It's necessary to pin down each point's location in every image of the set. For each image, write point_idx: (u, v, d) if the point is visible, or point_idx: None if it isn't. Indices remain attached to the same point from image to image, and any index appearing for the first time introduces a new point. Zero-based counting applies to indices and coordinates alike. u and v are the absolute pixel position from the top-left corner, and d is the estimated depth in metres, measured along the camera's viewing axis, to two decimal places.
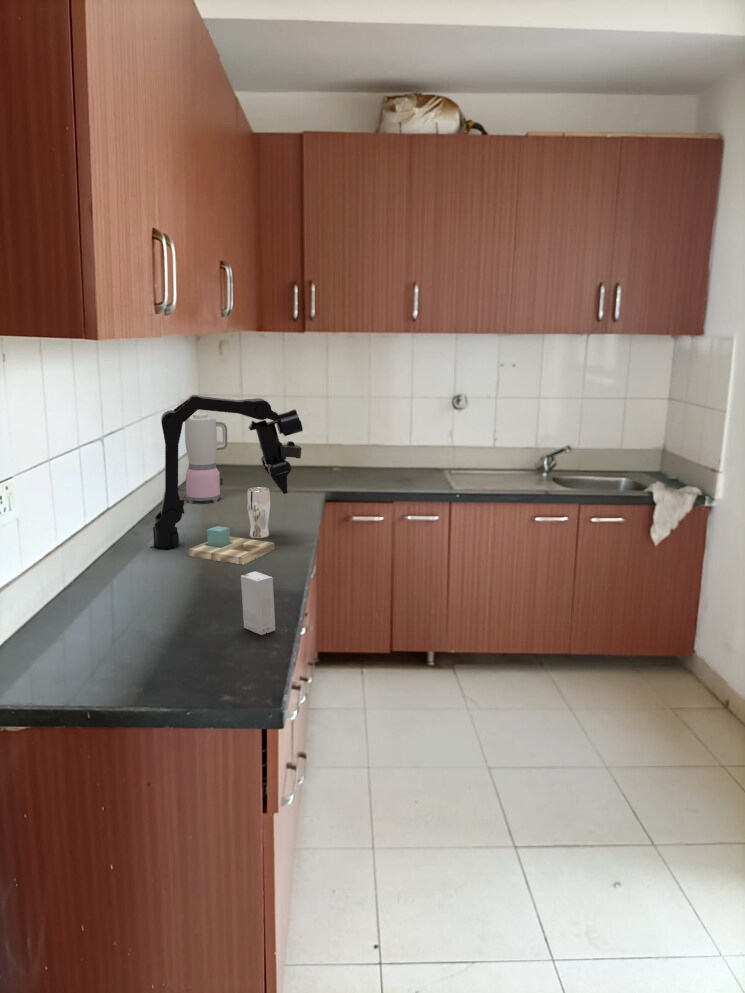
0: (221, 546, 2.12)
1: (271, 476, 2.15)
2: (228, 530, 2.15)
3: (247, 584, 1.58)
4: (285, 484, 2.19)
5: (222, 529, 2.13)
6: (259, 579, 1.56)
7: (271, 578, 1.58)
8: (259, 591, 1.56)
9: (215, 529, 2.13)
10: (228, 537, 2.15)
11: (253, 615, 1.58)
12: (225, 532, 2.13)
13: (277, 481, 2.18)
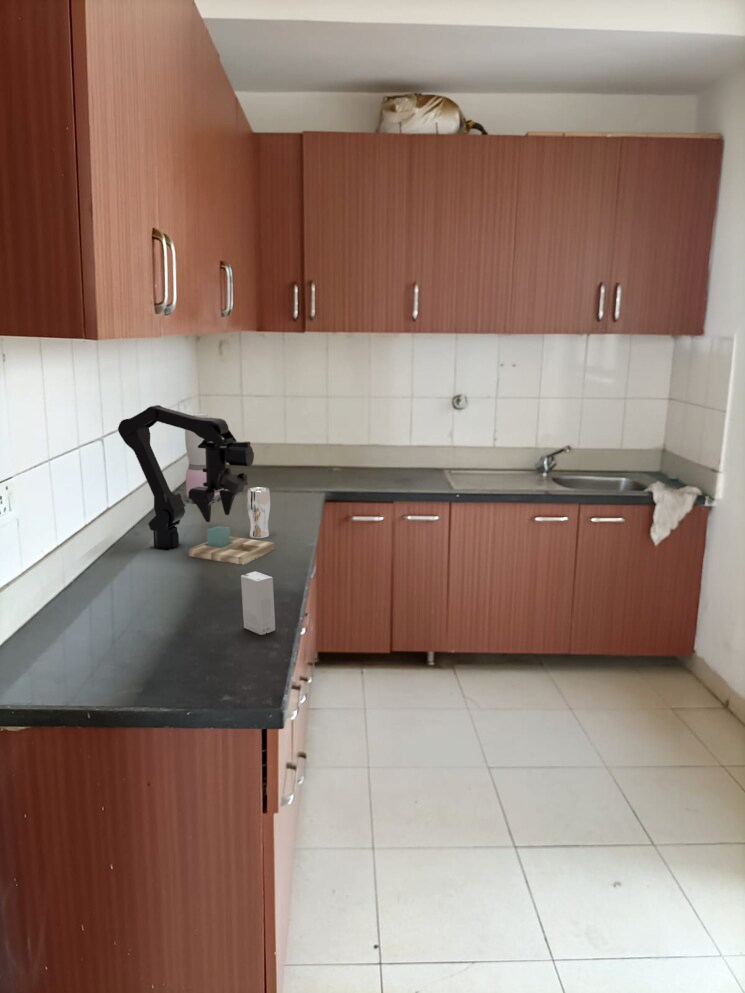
0: (221, 546, 2.12)
1: None
2: (228, 530, 2.15)
3: (247, 584, 1.58)
4: (207, 513, 2.07)
5: (222, 529, 2.13)
6: (259, 579, 1.56)
7: (271, 578, 1.58)
8: (259, 591, 1.56)
9: (215, 529, 2.13)
10: (228, 537, 2.15)
11: (253, 615, 1.58)
12: (225, 532, 2.13)
13: (199, 506, 2.07)
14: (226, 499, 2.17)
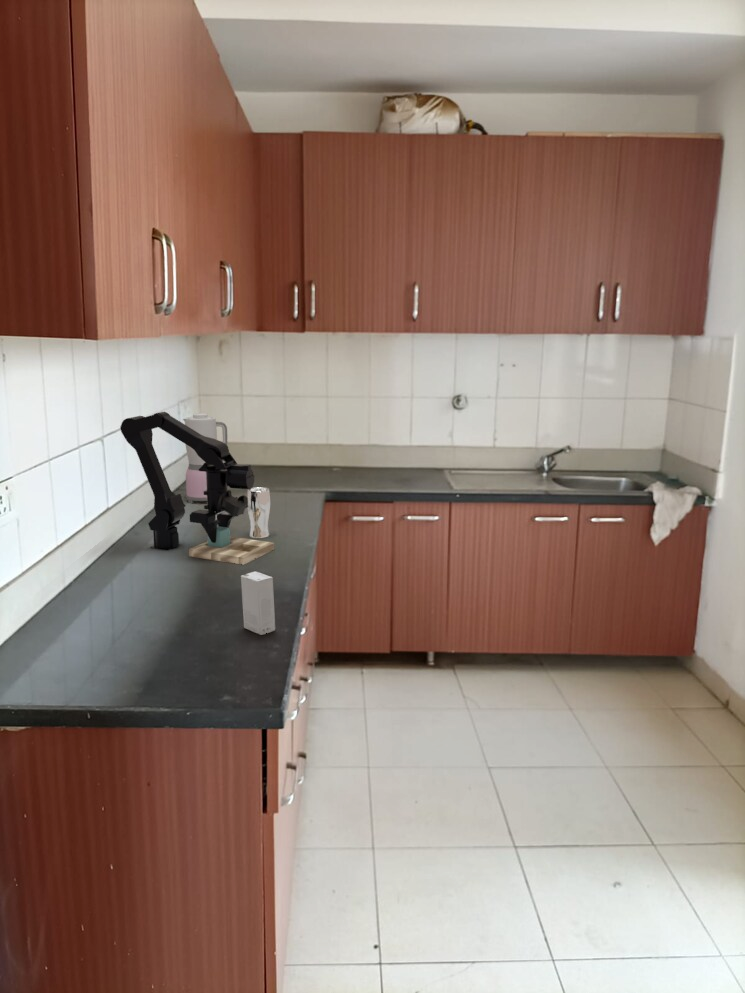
0: (221, 546, 2.12)
1: None
2: (228, 530, 2.15)
3: (247, 584, 1.58)
4: (212, 533, 2.11)
5: (222, 529, 2.13)
6: (259, 579, 1.56)
7: (271, 578, 1.58)
8: (259, 591, 1.56)
9: None
10: (228, 537, 2.15)
11: (253, 615, 1.58)
12: (225, 532, 2.13)
13: (205, 527, 2.11)
14: (223, 523, 2.16)
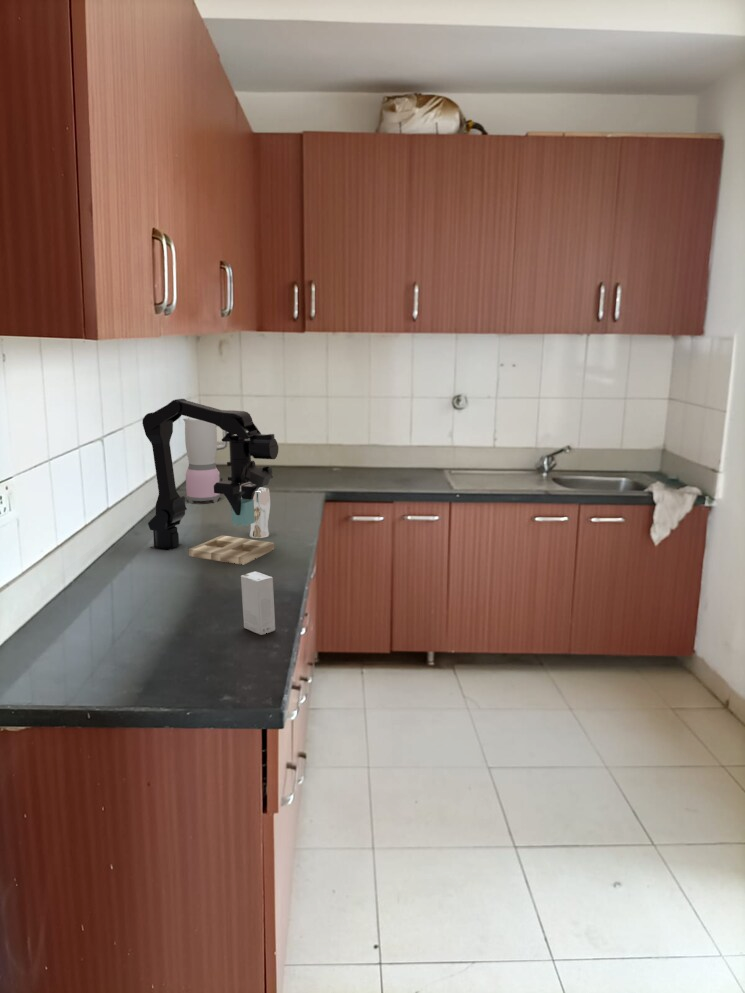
0: (246, 518, 2.07)
1: None
2: (252, 502, 2.09)
3: (247, 584, 1.58)
4: (237, 505, 2.05)
5: (246, 501, 2.08)
6: (259, 579, 1.56)
7: (271, 578, 1.58)
8: (259, 591, 1.56)
9: None
10: (252, 509, 2.10)
11: (253, 615, 1.58)
12: (250, 504, 2.08)
13: (229, 499, 2.05)
14: (246, 495, 2.11)
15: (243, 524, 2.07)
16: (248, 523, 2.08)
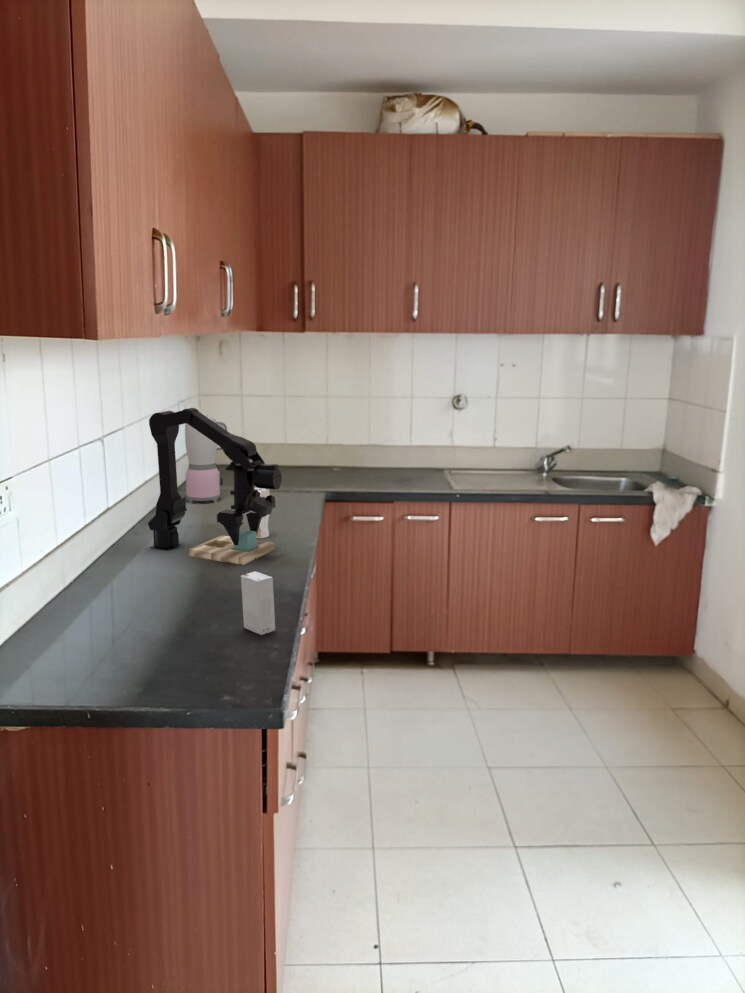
0: (248, 550, 2.09)
1: None
2: (255, 534, 2.11)
3: (247, 584, 1.58)
4: (235, 536, 2.05)
5: (249, 533, 2.10)
6: (259, 579, 1.56)
7: (271, 578, 1.58)
8: (259, 591, 1.56)
9: (242, 533, 2.09)
10: (255, 541, 2.11)
11: (253, 615, 1.58)
12: (252, 535, 2.10)
13: (228, 529, 2.05)
14: (253, 521, 2.14)
15: None
16: None
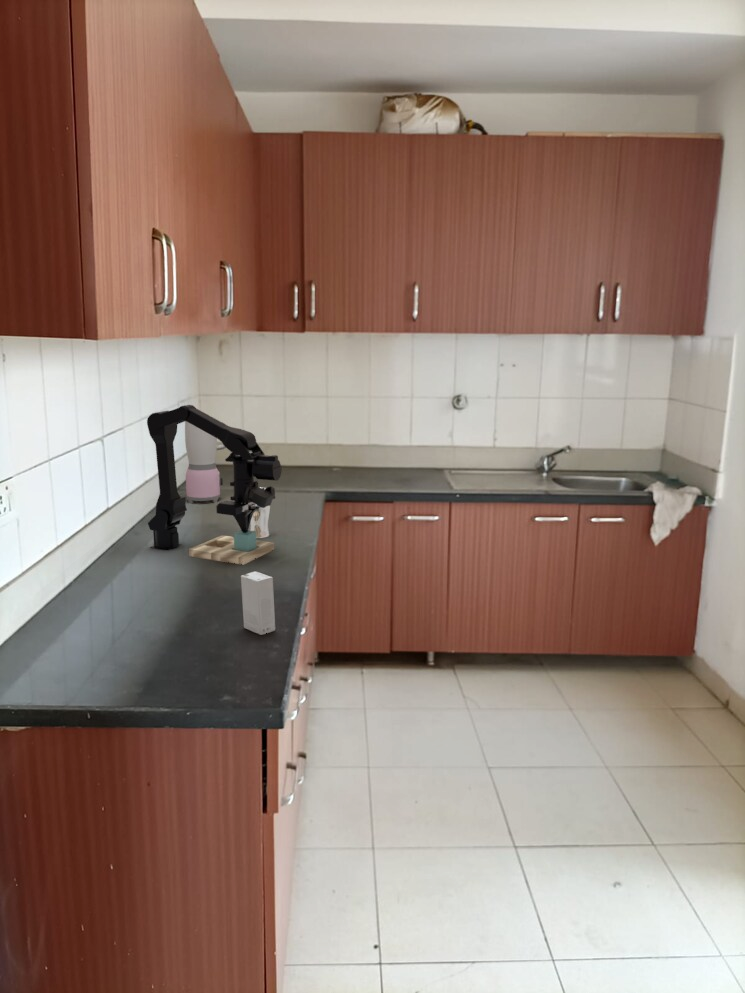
0: (248, 550, 2.09)
1: None
2: (255, 534, 2.11)
3: (247, 584, 1.58)
4: (244, 523, 2.08)
5: (249, 533, 2.10)
6: (259, 579, 1.56)
7: (271, 578, 1.58)
8: (259, 591, 1.56)
9: (242, 533, 2.09)
10: (255, 541, 2.11)
11: (253, 615, 1.58)
12: (252, 536, 2.10)
13: (236, 517, 2.08)
14: None
15: None
16: None
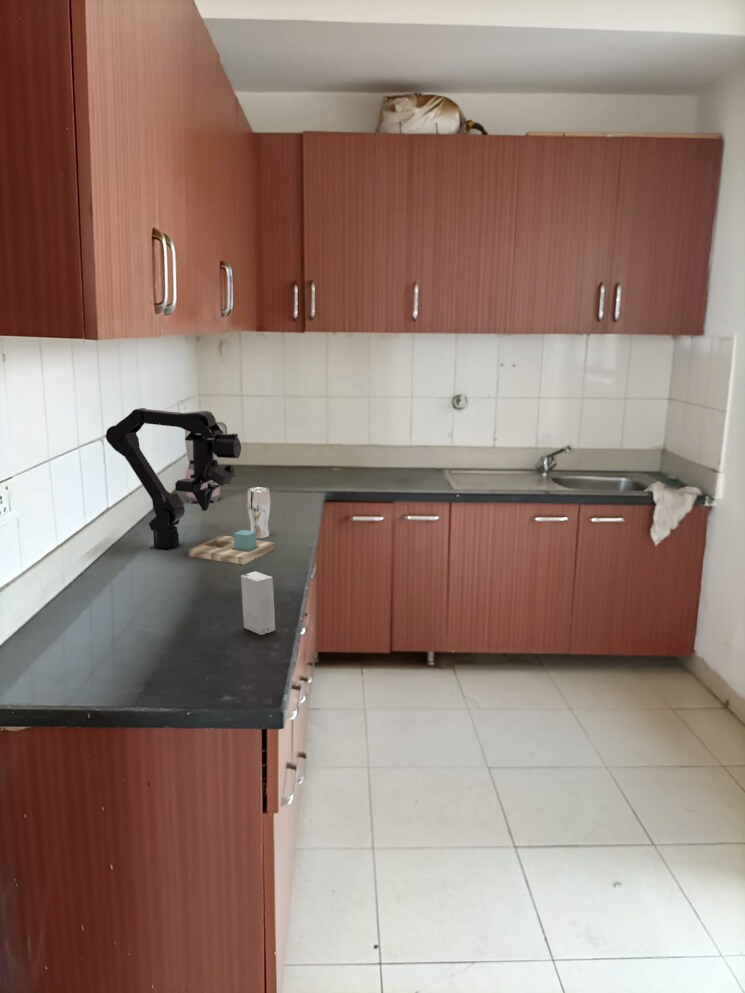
0: (248, 550, 2.09)
1: None
2: (255, 534, 2.11)
3: (247, 584, 1.58)
4: (203, 501, 2.12)
5: (249, 533, 2.10)
6: (259, 579, 1.56)
7: (272, 578, 1.58)
8: (259, 591, 1.56)
9: (242, 533, 2.09)
10: (255, 541, 2.11)
11: (253, 615, 1.58)
12: (252, 535, 2.10)
13: (196, 495, 2.12)
14: None
15: None
16: None
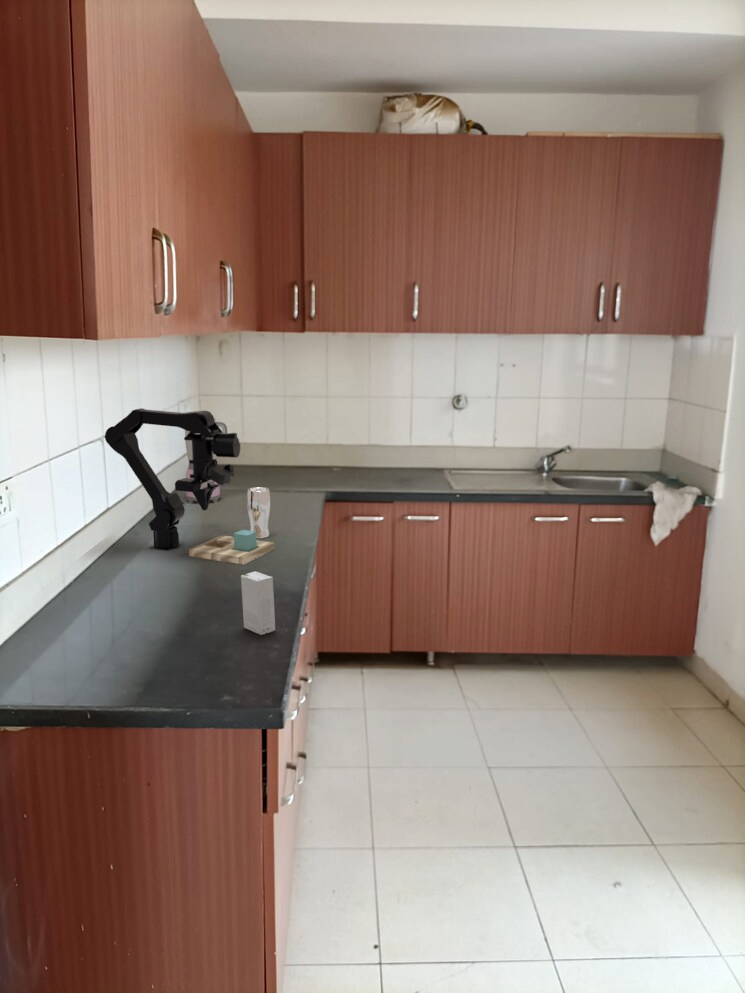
0: (248, 550, 2.09)
1: None
2: (255, 534, 2.11)
3: (247, 584, 1.58)
4: (203, 501, 2.13)
5: (249, 533, 2.10)
6: (259, 579, 1.56)
7: (272, 578, 1.58)
8: (259, 591, 1.56)
9: (242, 533, 2.09)
10: (255, 541, 2.11)
11: (253, 615, 1.58)
12: (252, 535, 2.10)
13: (196, 495, 2.13)
14: None
15: None
16: None
